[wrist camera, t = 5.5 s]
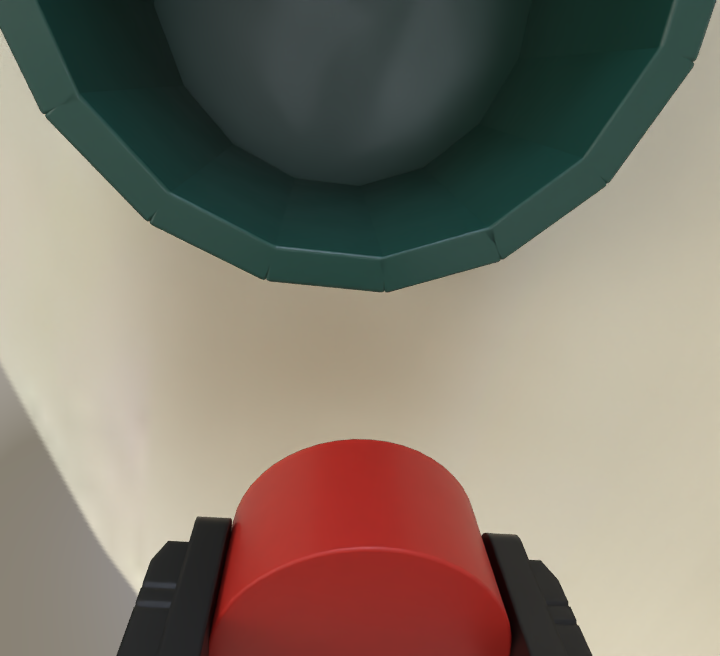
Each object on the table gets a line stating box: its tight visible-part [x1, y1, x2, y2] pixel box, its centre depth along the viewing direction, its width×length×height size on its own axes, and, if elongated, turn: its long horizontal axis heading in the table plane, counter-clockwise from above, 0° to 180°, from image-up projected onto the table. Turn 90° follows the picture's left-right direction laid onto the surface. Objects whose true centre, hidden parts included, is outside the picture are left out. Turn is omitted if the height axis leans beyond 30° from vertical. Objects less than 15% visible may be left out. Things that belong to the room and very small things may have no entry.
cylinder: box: [209, 439, 512, 656], centre depth 12 cm, size 6×6×3 cm
